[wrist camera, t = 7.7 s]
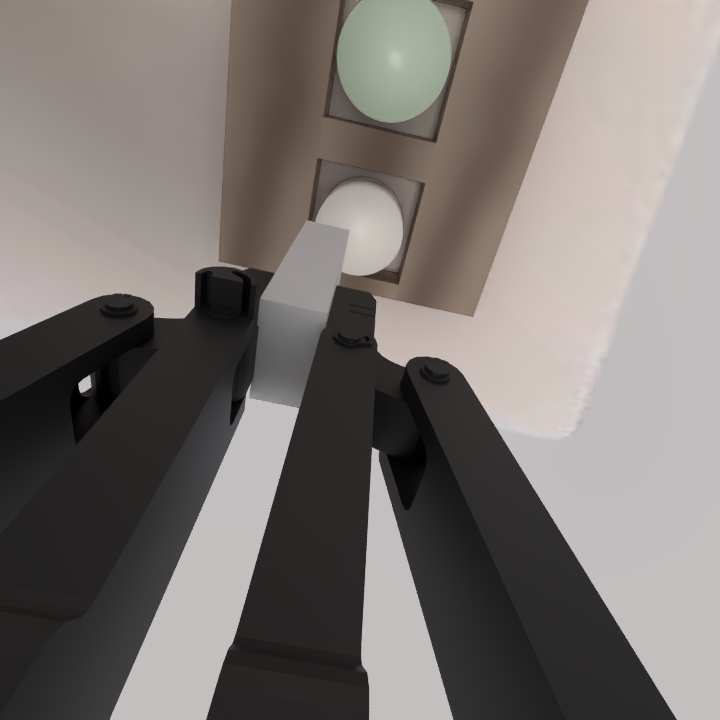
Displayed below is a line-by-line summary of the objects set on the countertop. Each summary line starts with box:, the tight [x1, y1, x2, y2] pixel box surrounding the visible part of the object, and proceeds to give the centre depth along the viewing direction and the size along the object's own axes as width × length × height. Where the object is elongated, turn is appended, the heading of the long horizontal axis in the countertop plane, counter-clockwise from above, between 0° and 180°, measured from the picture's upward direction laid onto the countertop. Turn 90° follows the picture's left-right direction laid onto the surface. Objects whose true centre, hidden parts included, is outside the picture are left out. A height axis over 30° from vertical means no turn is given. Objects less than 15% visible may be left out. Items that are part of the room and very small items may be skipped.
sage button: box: [337, 0, 451, 123], centre depth 21 cm, size 5×5×3 cm
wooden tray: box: [219, 0, 589, 317], centre depth 23 cm, size 16×24×2 cm, turn 168°
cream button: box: [315, 177, 403, 276], centre depth 26 cm, size 5×5×3 cm
